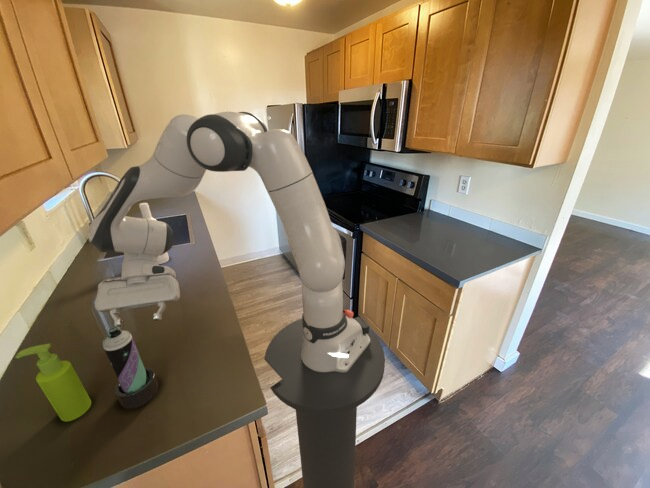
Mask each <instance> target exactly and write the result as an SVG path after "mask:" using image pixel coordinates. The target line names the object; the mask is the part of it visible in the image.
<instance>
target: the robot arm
mask: <svg viewBox="0 0 650 488" xmlns="http://www.w3.org/2000/svg"><path fill="white" fill-rule="evenodd" d="M308 161H309V160H308V158H307V157H306V155H305V154H304V151H303V150H302V148H301V146H300V144H299V143H298V141H297V140H296V138H295V136H294V135H293V134H292V133H291V132H290V131H288V130H286V129H282V128H275V129H274V128H273V129H270V130H268V128H267V126H266V124H265V122H264V121H263V120H262V119H261V118H260V117H258V116H257V115H256V114H253V113H250V112H247V111H228V110H227V111H221V112H217V113H213V114H212V113H210V114H206V115H202V116H201V117H199V118H198V117H196V116H194V115H190V114H178V115H175V116H173V117H172V118H171V119H170V121H169V122H168V124H167V125H166V127H165V128H164V130H163V131H162V133H161V135H160V137H159V138H158V141H157V143H156V146H155V148H154V151H153V154H152V155H151V157H150V158H149V159H148V160H147V161H145V162H144V163H142V164H139V165H137V166H132V167H130V168H129V169H128V170H127V171H126V172H125V173H124V174H123V176H122V177H121V178H120V180H119V181H118V183H117V184H116V186H115V188H114V190H113V191H112V192H111V194H110V195H109V197H108V198H107V201H106V202H105V204H104V205H103V207H102V208H101V210H100V211H99V212H98V214H96V216H95V217H94V219H93V220H92V221H91V222H90V225H89V228H88V232H87V235H88V236H87V237H88V243H89V244H90V245H91V246H92V247H93V248H95V249H96V250H97V251H98V252H100V253H123V256H124V257H123V260H122V263H121V276H117V277H111V278H104V280H102V281H100V282H99V283H98V285H97V294H96V298H95V303H94V309H95V310H96V311H97V312H99V313H109V315H110V316H111V318H112V320H113V321H114V322H113V326H114V328H119V327H123V326H124V325H125V324H124V323H125V322H124V321H125V319H122V318H120V316H119V315H120V314H121V311H124V310H130V309H137V308H142V307H150V306H156V305H157V307H159V308H158V309H157V311H156V312H154V313H153V318H152V319H153V321H162V320H163V313H164V311H165V310H166V308H167V304H169V303H170V304H171V303H176V302H178V301H179V300H180V299H181V289H180V283H179V281H178V279H176V277H177V272H176V271H175V270H174V269H172V268H171V267H169V266H168V265H162V264H158V261H157V257H158V256H159V255H160V256H161V255H163V254H164V253H166V252H167V253H168V251H170V250H171V249H172V248H173V244H174V243H173V242H174V230H173V229H172V228H171V226H170V225H169V224H168V223H167V222H164V221H162V220H157V219H156V220H157V221H156V220H149V219H143V218H141V217H134V216H129V215H128V213H129V211H130V210H131V208H132V207H133V205H134V204H136V203H138V202H141V201H144V200H151V199H176V198H182V197H186V196H188V195H190V194H192V193H193V192H194V191H195V190H196V189H198V187H199V186H200V184H201V182H202V180H203V178H204V175H206V171H209V172H217V173H218V172H219V173H225V172H226V173H228V172H245V171H247V169H248V168H250V169H253V170H254V171H255V172H256V173H257V174H258V176H259V177H260V180H261V181H262V184H263V186H264V188H265V190H266V193H267V194H268V196H269V199H270V200H271V203H272V205H273V207H274V209H275V211H276V213H277V215H278V218H279V219H280V222H281V224H282V227H283V230H284V233H285V236H286V239H287V242H288V243H287V244H288V246H289V248H290V251H291V254H292V256H293V259H294V262H295V264H296V267H297V268H296V269H297V271H298V274H299V279H300V280H301V299H302V315H301V319H302V326H303V333H304V336H303V345H302V349H301V359H302V361H303V363H304V364H305V365H306V366H307V367H308V368H310V369H312V370H314V371H318V372H332V371H337V372H342V373H345V372H347V371H348V370H349V369H350V368H351V366H352V365H353V364H354V363H355V361H356V360H357V359H358V358H359V356H360V355H361V354H362V352H363V351H364V350H365V349H366V347H367V346H368V345H369V344H370V338H369V336H368V334H367V333H369V330H370V326H369V324H367V322H366V321H364V319H362V318H361V317H360V316H357V317H354V314H355V313H354V311H351V310H350V309H345V308H344V289H343V288H344V287H343V278H344V274H345V268H346V260H345V255H344V254H345V253H344V250H343V246H342V245H343V244H342V239H341V236H340V234H339V232H338V231H337V229H336V228H335V227H334V226H333V224H332V220H331V219H330V218H331V217H330V215H329V212H328V209H327V206H326V203H325V200H324V198H323V195H322V192H321V190H320V188H319V185H318V183H317V180H316V178H315V175H314V172H313V170H312V168H311V166H310V164H309V162H308Z"/></svg>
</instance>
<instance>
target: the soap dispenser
mask: <svg viewBox="0 0 650 488" xmlns="http://www.w3.org/2000/svg"><path fill="white" fill-rule="evenodd" d="M51 347H52V343H45V344H39V345H34V346H30V347H27V348H24V349H22V350H19V352H18V353H17V354H16V356H14V359H21V358H23V357H27V356H31V355H36V356H37V358H39V359H38V360H37V361H36V363H35V364H36V366H37V368H38V369H39V372H38V373H37V375H36V376H35V381H36V383H37V384H38V386H39V388H40V389H41V391H42V392H43V394H44V396H45V397H46V399H47V400H48V402H49V403H50V405H51V407H52V408H53V410H54V411H55V413H56V415H57V417H58V418H59V419H60V421H62V422H66V423H67V422H72V421H74V420H76V419H78V418H80V417H82V416H83V415H84V414H86V412H87V411H88V410H90V408H91V406H92V399H91V398H90V396H89V394H88V392H87V391H86V389H85V387H84V385H83V383H82V381H81V380H80V378H79V376H78V373H76V370H75V369H74V366H73V365H72V362H71V361H69V360H61V359H60V357H59V355H58V354H57V353H50V351H49V350H50V348H51Z"/></svg>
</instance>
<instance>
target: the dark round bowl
mask: <svg viewBox="0 0 650 488" xmlns="http://www.w3.org/2000/svg"><path fill="white" fill-rule="evenodd" d="M144 368H145V370H146V373H147V375H148V378H149V381H148V383H147V384H146V385H144V386H143V387H142V388H141V389H139V390H137V391H135V392H132V393H128V394H127V393H124V391H123V389H122V387H121V384H120V382H119V381H117V383H116V384H115V386H114V393H115V396H116V398H117V400H118V402H119V404H120V405H121V407H122V408H123V409H126V410H132V409H137V408H140V407H142V406H145V405H146V404H147V403H149V402H150V401H151V400H152V399H153V398H154V397H155V396H156V395H157V393H158V391H159V388H160V384H159V381H158V379H157V376H156V373H155V371H154V369H153V368H150V367H144Z"/></svg>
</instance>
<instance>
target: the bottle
mask: <svg viewBox="0 0 650 488" xmlns="http://www.w3.org/2000/svg"><path fill="white" fill-rule="evenodd" d="M138 206H139V207H138V208H139V209H140V213H141V216H142V219H149V220H156V221H158V220H157V219H156V218H154V217H153V216H152V212H151V208H150V205H149V203H148V202H141V203H139V204H138ZM157 261H158V265H162V264H165V263H167V262H168V261H170V257H169V253H168V251H167V252H166V253H164V254H163V255H161V256H160V255H159V256H158V257H157Z"/></svg>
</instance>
